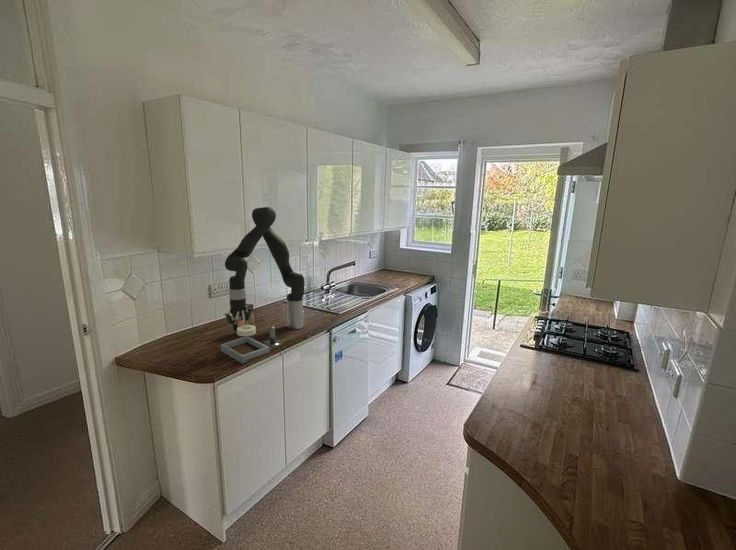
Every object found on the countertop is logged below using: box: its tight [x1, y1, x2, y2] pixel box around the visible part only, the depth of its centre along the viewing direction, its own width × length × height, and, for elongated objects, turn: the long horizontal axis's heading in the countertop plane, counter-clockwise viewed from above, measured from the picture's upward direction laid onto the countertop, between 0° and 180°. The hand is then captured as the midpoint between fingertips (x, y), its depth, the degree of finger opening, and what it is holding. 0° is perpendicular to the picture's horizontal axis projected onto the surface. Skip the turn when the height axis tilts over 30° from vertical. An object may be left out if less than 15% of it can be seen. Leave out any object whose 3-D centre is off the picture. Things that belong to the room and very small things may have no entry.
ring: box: [237, 318, 257, 337], centre depth 177 cm, size 9×13×5 cm, turn 49°
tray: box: [220, 336, 271, 365], centre depth 179 cm, size 15×20×4 cm
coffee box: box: [235, 303, 255, 336], centre depth 203 cm, size 9×6×16 cm
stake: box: [262, 325, 283, 348], centre depth 189 cm, size 10×10×10 cm
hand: (239, 330), depth 180 cm, fingers closed on ring, 3 cm apart
